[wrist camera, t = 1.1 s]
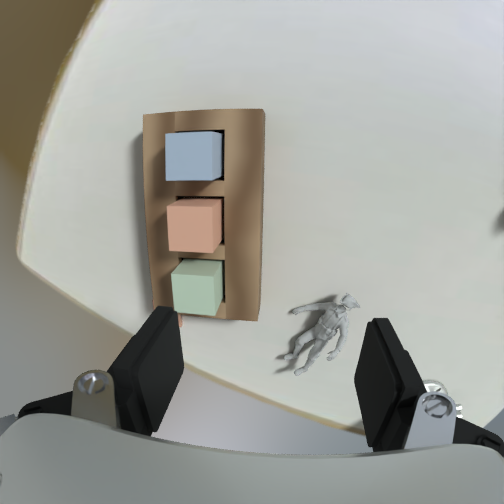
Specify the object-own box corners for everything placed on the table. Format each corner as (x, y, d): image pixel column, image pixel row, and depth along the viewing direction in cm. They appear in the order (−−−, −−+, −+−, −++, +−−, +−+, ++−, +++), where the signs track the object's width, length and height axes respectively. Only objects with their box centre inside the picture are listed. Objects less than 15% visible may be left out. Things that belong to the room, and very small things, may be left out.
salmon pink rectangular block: (224, 197, 32) (212, 206, 26) (224, 236, 33) (212, 253, 28) (185, 196, 32) (166, 206, 27) (186, 234, 33) (169, 250, 28)
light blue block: (224, 134, 30) (212, 131, 24) (224, 175, 31) (212, 180, 26) (184, 135, 30) (165, 133, 25) (185, 175, 31) (165, 180, 26)
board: (265, 113, 30) (262, 108, 27) (260, 304, 37) (257, 321, 34) (158, 117, 31) (143, 114, 28) (166, 296, 39) (155, 311, 35)
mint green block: (224, 256, 34) (213, 276, 29) (225, 291, 35) (215, 315, 30) (187, 254, 34) (171, 273, 29) (189, 289, 36) (174, 312, 30)
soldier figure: (270, 340, 40) (307, 279, 33) (297, 329, 43) (336, 271, 36) (302, 387, 36) (352, 334, 29) (328, 372, 39) (378, 320, 31)
